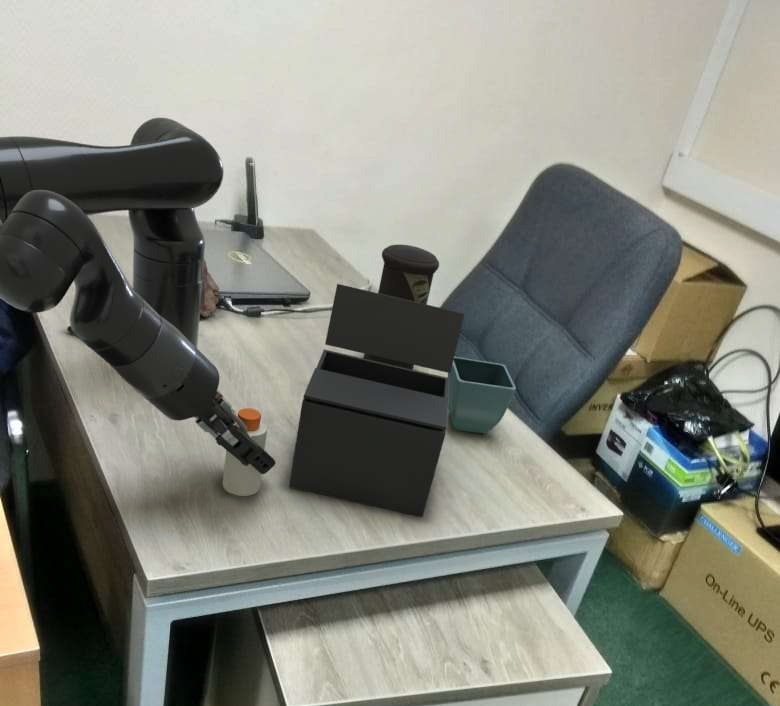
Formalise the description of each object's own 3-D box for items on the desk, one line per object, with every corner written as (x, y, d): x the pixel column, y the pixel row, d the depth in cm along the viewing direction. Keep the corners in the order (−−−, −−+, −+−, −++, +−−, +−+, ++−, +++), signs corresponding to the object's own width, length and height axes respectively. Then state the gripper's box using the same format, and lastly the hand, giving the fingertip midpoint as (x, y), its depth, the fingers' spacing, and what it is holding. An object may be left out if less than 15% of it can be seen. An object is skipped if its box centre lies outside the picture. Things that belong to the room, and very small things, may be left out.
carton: (288, 487, 99) (303, 395, 92) (310, 428, 113) (324, 343, 106) (422, 517, 100) (447, 427, 93) (428, 454, 113) (450, 372, 106)
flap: (337, 283, 104) (337, 283, 104) (324, 344, 105) (325, 344, 106) (464, 313, 104) (464, 313, 105) (450, 373, 106) (450, 373, 107)
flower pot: (435, 407, 126) (449, 354, 121) (489, 415, 128) (505, 363, 123) (443, 434, 119) (458, 380, 114) (499, 443, 121) (517, 389, 116)
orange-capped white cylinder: (218, 491, 96) (225, 417, 90) (227, 472, 99) (235, 401, 94) (254, 499, 96) (264, 426, 90) (262, 480, 99) (272, 409, 94)
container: (407, 385, 131) (436, 264, 120) (354, 370, 131) (378, 249, 120) (416, 366, 138) (445, 250, 127) (366, 352, 138) (390, 235, 127)
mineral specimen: (180, 348, 136) (115, 292, 137) (232, 310, 142) (169, 257, 144) (184, 302, 126) (114, 243, 127) (240, 263, 132) (172, 207, 134)
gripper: (119, 360, 88) (215, 443, 101) (158, 425, 79) (258, 508, 91) (169, 314, 88) (259, 403, 101) (214, 374, 78) (307, 464, 91)
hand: (258, 453), depth 96 cm, fingers open, 5 cm apart
